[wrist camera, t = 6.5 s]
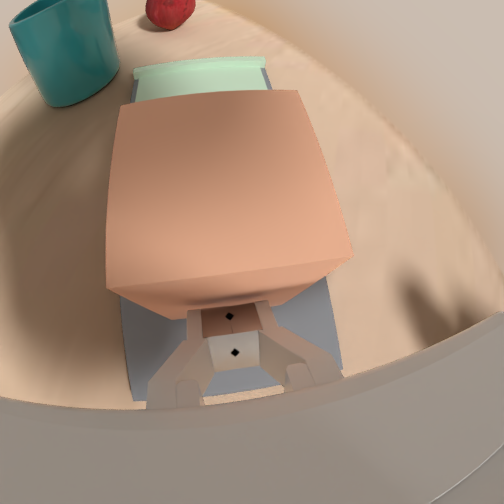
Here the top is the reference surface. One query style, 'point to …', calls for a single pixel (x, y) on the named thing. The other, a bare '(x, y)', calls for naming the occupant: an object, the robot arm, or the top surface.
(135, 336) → the track
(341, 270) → the top surface
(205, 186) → the terracotta block
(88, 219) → the top surface
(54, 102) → the cup
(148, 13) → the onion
